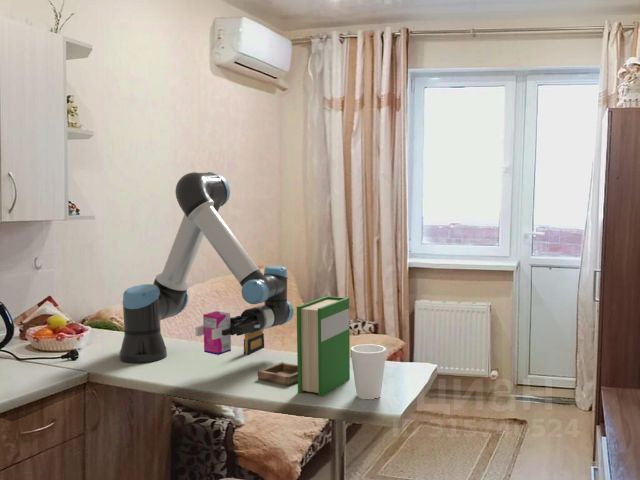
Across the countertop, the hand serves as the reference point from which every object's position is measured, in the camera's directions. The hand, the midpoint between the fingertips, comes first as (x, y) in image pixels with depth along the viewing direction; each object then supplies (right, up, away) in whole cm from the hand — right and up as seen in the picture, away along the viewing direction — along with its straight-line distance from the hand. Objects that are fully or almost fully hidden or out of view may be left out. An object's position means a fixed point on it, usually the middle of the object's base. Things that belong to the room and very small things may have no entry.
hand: (204, 333), depth 192 cm
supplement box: (+3, -6, +5) cm, 9 cm away
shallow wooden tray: (+23, -14, +5) cm, 27 cm away
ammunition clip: (+11, -11, +37) cm, 40 cm away
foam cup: (+46, -15, -12) cm, 50 cm away
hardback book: (+35, -15, -3) cm, 38 cm away
